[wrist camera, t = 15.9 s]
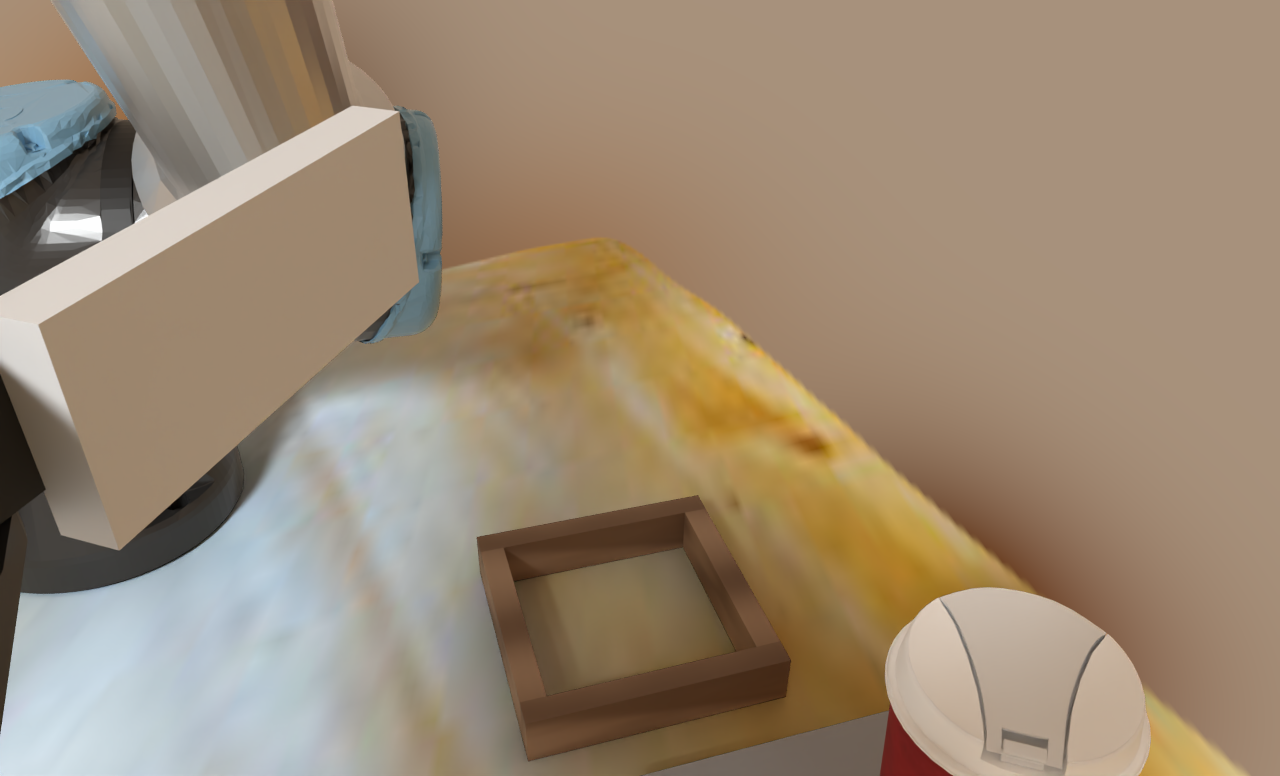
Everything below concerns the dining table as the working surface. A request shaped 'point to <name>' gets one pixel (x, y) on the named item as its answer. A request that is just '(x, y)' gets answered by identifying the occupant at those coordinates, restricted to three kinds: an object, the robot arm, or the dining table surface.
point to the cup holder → (645, 696)
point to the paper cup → (1011, 692)
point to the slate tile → (802, 754)
